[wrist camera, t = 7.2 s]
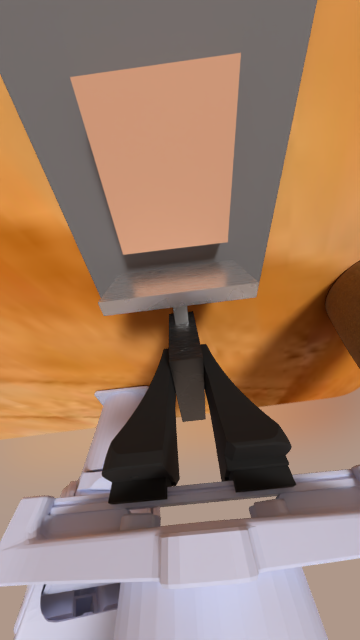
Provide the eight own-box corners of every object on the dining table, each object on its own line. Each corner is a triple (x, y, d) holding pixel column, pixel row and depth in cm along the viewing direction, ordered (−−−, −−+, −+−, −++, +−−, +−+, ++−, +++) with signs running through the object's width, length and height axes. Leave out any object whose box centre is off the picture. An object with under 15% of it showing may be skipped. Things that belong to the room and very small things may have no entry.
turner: (223, 368, 18) (239, 415, 14) (153, 376, 18) (148, 425, 14) (232, 260, 11) (269, 291, 7) (118, 274, 11) (89, 313, 7)
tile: (227, 242, 11) (241, 53, 6) (123, 254, 11) (69, 77, 7) (221, 237, 12) (229, 76, 8) (127, 249, 12) (85, 96, 8)
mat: (256, 284, 15) (258, 286, 14) (105, 301, 15) (103, 304, 15) (387, -392, 4) (411, -460, 4) (-151, -287, 4) (-185, -338, 4)
